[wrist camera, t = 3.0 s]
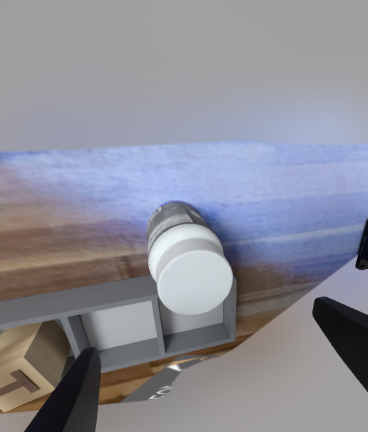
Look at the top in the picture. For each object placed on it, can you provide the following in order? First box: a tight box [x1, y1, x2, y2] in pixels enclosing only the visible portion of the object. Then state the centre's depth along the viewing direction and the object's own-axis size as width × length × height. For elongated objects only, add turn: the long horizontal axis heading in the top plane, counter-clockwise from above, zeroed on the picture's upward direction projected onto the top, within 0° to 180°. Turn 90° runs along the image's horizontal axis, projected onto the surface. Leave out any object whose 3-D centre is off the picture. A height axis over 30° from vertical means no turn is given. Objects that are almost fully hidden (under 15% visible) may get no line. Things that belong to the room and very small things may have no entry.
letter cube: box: [0, 320, 71, 412], centre depth 16 cm, size 4×4×4 cm
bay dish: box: [0, 273, 237, 384], centre depth 19 cm, size 22×8×3 cm, turn 93°
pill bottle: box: [147, 200, 233, 315], centre depth 14 cm, size 5×5×8 cm
